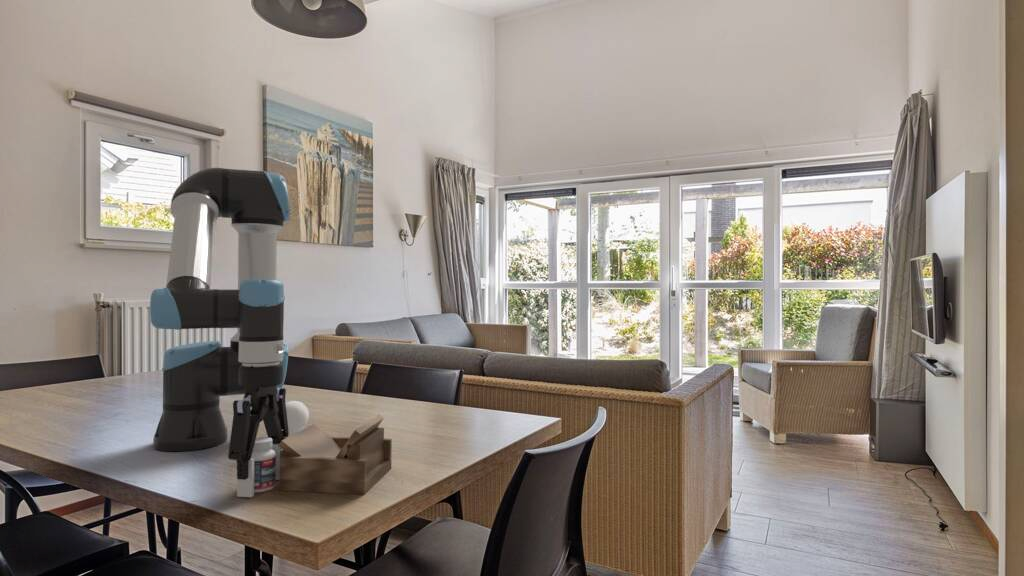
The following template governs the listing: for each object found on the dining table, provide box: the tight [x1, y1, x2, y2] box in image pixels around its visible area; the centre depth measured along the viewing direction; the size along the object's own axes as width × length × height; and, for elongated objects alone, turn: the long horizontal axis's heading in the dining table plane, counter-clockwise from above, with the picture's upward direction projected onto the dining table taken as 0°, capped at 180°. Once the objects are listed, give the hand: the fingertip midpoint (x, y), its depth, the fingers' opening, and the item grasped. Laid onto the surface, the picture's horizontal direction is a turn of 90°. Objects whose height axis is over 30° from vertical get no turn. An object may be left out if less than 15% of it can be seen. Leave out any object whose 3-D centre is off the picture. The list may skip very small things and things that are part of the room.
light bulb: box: [284, 400, 310, 438], centre depth 130 cm, size 7×7×11 cm
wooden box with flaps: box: [278, 413, 393, 496], centre depth 111 cm, size 17×15×11 cm
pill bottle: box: [251, 436, 276, 494], centre depth 105 cm, size 5×5×9 cm
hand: (260, 486), depth 105 cm, fingers open, 9 cm apart
